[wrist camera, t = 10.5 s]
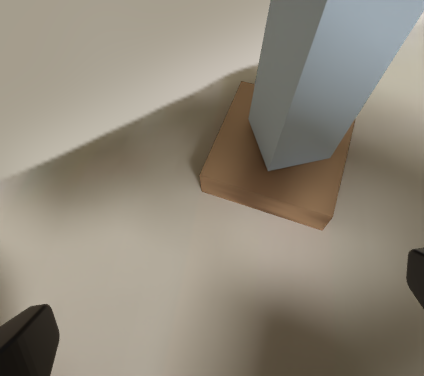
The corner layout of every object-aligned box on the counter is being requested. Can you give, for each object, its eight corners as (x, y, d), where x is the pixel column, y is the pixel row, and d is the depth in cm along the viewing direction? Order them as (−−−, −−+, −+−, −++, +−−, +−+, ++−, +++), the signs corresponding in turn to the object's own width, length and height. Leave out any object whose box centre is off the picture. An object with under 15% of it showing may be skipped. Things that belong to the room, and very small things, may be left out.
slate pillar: (330, 158, 23) (442, -19, 12) (267, 171, 22) (328, -3, 11) (306, 108, 25) (384, -82, 14) (248, 118, 24) (284, -71, 13)
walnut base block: (344, 134, 27) (357, 110, 25) (320, 232, 23) (332, 217, 21) (239, 106, 29) (241, 81, 26) (202, 194, 25) (199, 175, 22)
